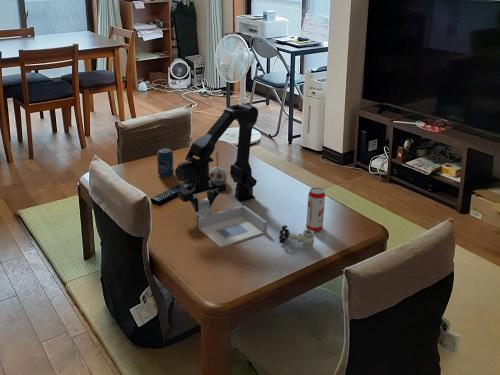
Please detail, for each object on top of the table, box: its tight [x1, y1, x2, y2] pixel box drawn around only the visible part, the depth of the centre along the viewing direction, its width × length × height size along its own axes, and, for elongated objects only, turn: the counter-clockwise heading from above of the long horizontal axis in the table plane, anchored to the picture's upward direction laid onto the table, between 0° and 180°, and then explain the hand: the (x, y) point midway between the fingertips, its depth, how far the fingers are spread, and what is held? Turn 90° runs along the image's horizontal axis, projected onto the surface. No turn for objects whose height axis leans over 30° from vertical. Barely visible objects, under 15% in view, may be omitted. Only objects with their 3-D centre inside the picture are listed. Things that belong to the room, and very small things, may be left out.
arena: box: [197, 204, 268, 248], centre depth 214 cm, size 20×16×5 cm
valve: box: [278, 224, 315, 252], centre depth 205 cm, size 7×7×12 cm
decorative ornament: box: [209, 151, 228, 186], centre depth 248 cm, size 8×8×15 cm
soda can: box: [156, 147, 175, 179], centre depth 256 cm, size 7×7×12 cm
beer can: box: [305, 187, 326, 233], centre depth 214 cm, size 6×6×16 cm
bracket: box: [195, 197, 213, 218], centre depth 223 cm, size 8×5×6 cm, turn 34°
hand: (202, 210), depth 226 cm, fingers open, 5 cm apart
